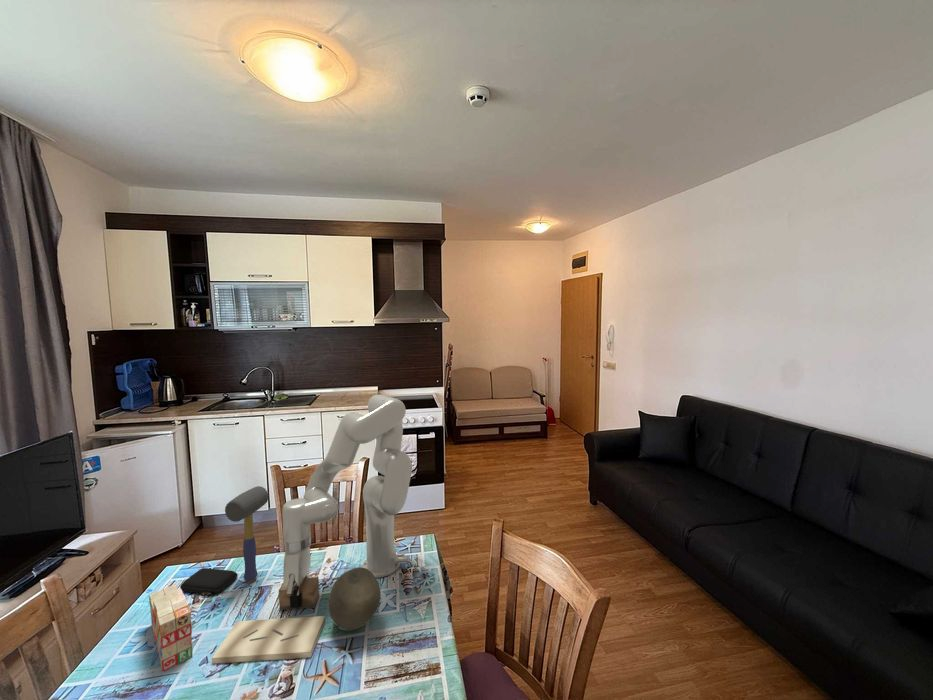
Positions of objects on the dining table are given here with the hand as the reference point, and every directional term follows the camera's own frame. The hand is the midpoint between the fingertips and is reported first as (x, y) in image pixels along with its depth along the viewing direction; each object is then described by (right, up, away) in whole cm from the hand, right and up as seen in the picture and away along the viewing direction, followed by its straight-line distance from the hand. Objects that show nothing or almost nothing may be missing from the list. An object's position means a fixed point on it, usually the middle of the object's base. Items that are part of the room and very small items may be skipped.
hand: (299, 599), depth 116 cm
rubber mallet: (-21, -1, +11) cm, 23 cm away
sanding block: (0, -1, 0) cm, 1 cm away
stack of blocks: (-29, -3, -13) cm, 32 cm away
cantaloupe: (+20, -2, -9) cm, 21 cm away
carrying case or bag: (-34, -2, +9) cm, 35 cm away
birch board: (-1, -2, -14) cm, 14 cm away
